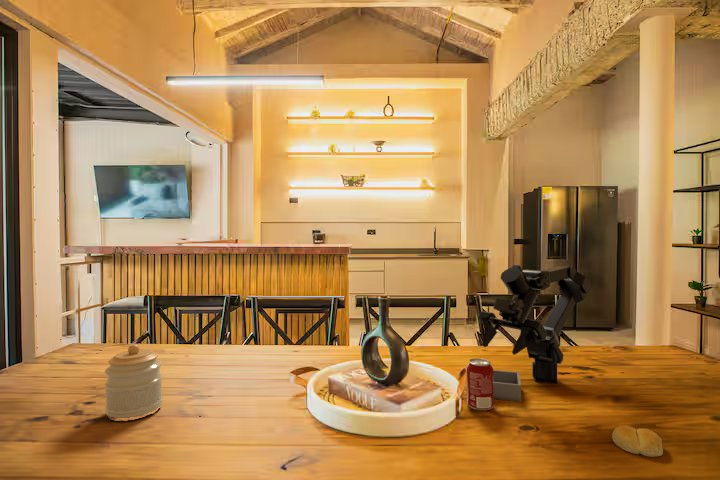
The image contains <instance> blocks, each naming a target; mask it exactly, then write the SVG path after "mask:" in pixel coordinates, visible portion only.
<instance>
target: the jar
mask: <svg viewBox="0 0 720 480" xmlns="http://www.w3.org/2000/svg"><path fill="white" fill-rule="evenodd" d="M158 356H159V353H158V352H156V351H155V352H154V351H153V350H151V349H149V348H140V346H139V345H138V344H135V343H133V344H130V345H129V346H128V348H127V350H124V351H121V352H118V353H116V354H115V355H114V356H113V357H111V358H109V360H108V361H107V362H108V364H109V366H108V367H107V368H106V369H105V370H104V374H105V375H106V377H107V379H106V381H105V382H104V387H105V404H106V406H105V414H106V416H107V415H108V416H110V417H114V418H130V417H137V416H142V415H144V414H147V413H149V412H152V411H154V410H156V409H157V408H158V407H160V406H161V407H162V404H163V396H162V378H163V375H162V373H161V370H160V367H161V366H162V361H161V360H159V359H157V358H158Z"/></svg>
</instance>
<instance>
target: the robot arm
mask: <svg viewBox="0 0 720 480" xmlns="http://www.w3.org/2000/svg"><path fill="white" fill-rule="evenodd" d="M500 281H502V283H503V284H504V286H505V287H506V289H507V291H508V292H509V293H510V294H511V295H513V296H512V299H508V298H502V297H496V298H495V301H494V304H493V307H492V308H493V310H496V311H498V314H499V316H500V317H502V318H498V316H496V314H495V312H490V311H485V310H483V311H480V313H479V314H478V316H477V319H478V320H479V321H480V323H481V324H482V326H483V330H484V331H483V339H482V340H483V342H482V346H483V348H486V347H487V346H489V344H490V343H491V342H492V340H493V339H494V337H495V336H496V335H497V334H498V331H497V330H499V329H500V327H504V328H510V329H514V330H518V331H520V334H519V336H518V338H517V340H516V342H515V345H514V346H513V349H512V352H511V353H512V355H515V356H516V355H517V354H518V353H521V351H523V350H524V349H526V351H527V355H528V359H533V361H532V362H531V376H532V378H533V379H534V382H537V383H548V384H558V385H559V380H558V365H559V364H561V365H562V362H563V361H564V353H563V352H562V350H561V348H560V342H559V335H560V333H561V331H562V329H563V328H564V326H565V324H566V322H567V321H568V319H569V317H570V315H571V314H572V311H573V309H574V307H575V306H576V304H579V303H580V302H583V301H584V300H585V299H586V298H587V296H588V294H589V293H590V292H591V284H590V282H589V281H588V279H587V277H586V276H585V275H583V274H581V273H580V272H578V271H577V270H576V268H575V267H574V266H572V265H563V264H562V265H561V264H560V265H556V266H554V267H550V268H546V269H545V268H544V269H541V270H537V269H536V270H535V269H522V267H521V265H520V264H512V266H511V267H509V268H507V269H505V270H504V271H502V272H501V275H500ZM552 283H556V285H557V286H558V290H559V294H560V295H559V298H558V300H557V301H556V303H555V305H554V306H553V308H552V310H551V312H550V314H549V315H548V317H547V319H546V321H545V322H544V323H543V324H542V322H541V321H540V320H536V319H532V318H531V317H532V315H531V313H530V312H531V310H532V309H533V306H534V304H539V303H540V298H539V296H538V295H539V294H538V293H537V291H536V290H538V291H545V290H546V289H548V288H549V287H551V284H552Z"/></svg>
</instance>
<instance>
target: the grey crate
mask: <svg viewBox="0 0 720 480" xmlns="http://www.w3.org/2000/svg"><path fill="white" fill-rule="evenodd" d="M520 377H521V376H520V371H509V370H500V369H499V370H497V369H493V398H494V400H499V401H500V400H501V401H509V402H518V403H521V402H522V384H521V378H520Z"/></svg>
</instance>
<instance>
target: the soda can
mask: <svg viewBox="0 0 720 480" xmlns="http://www.w3.org/2000/svg"><path fill="white" fill-rule="evenodd" d="M491 364H492V363H491V360H488V359H485V358H482V357H481V358H480V357H479V358H477V357H476V358H471V359H470V358H469V360H468V364H467V365H466V405H467V406H468V407H470V408H471V409H472V410H474V411H477V412H478V411H479V412H488V411H489V410H492V409H493V408H494V405H495V404H494V403H495V402H494V400H495V399H494V398H493V370H494V367H492V365H491Z"/></svg>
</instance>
